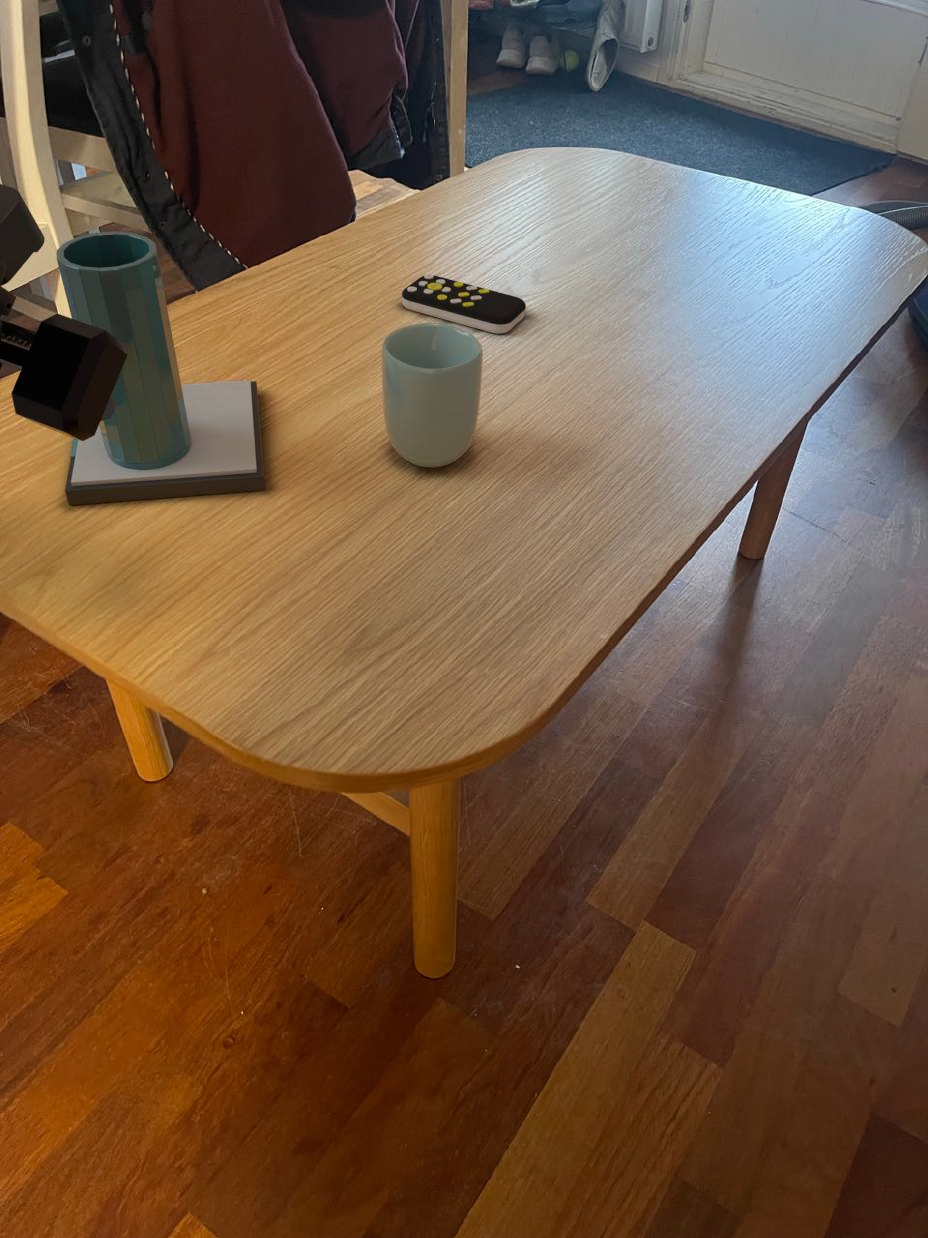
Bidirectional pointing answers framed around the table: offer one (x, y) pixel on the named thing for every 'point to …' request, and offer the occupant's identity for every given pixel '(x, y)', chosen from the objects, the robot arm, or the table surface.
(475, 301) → the remote control
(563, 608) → the table surface
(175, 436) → the tumbler
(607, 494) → the table surface
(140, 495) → the scale
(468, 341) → the cup
